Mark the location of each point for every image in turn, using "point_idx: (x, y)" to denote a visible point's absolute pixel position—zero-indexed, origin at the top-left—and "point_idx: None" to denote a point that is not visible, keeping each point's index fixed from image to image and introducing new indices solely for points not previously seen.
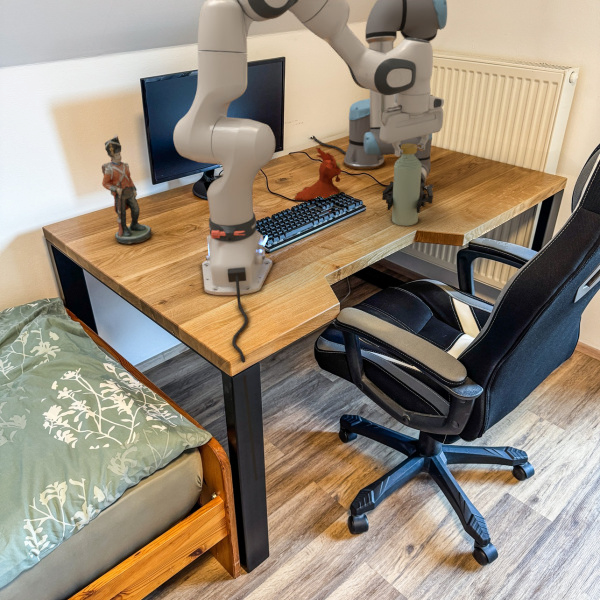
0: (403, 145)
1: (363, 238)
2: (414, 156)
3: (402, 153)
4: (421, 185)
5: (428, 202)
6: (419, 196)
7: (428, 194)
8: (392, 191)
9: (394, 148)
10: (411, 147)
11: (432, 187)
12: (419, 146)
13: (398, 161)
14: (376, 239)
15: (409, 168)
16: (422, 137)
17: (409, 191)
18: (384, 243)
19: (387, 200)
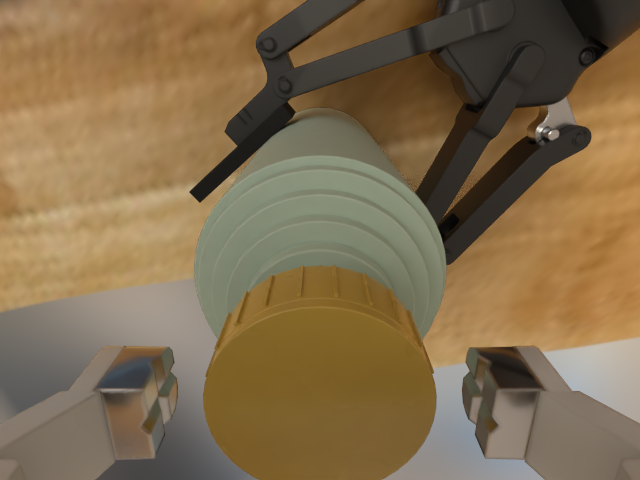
0: (262, 360)
1: (67, 203)
2: None
3: (166, 422)
4: (536, 98)
5: None
6: (430, 177)
7: (463, 216)
8: (314, 73)
9: (43, 411)
10: (291, 476)
11: (563, 156)
12: (487, 400)
13: (226, 261)
14: (111, 239)
15: None
16: (632, 459)
17: None
18: (122, 281)
19: (230, 136)
